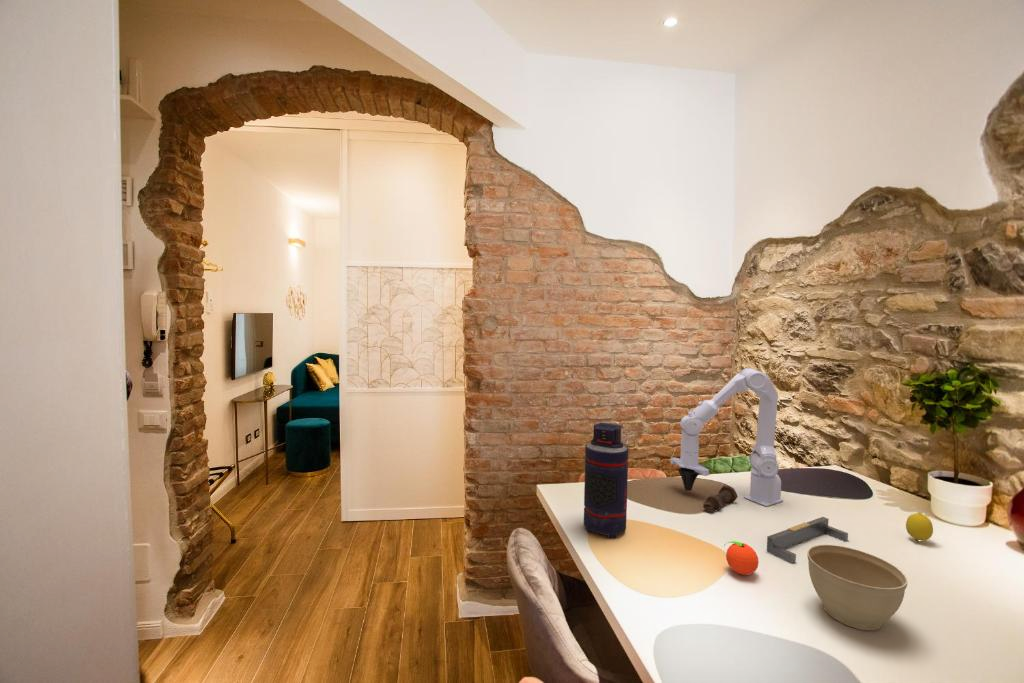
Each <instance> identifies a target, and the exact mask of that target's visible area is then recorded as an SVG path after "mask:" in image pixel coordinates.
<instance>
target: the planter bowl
mask: <svg viewBox="0 0 1024 683" xmlns="http://www.w3.org/2000/svg"><path fill="white" fill-rule="evenodd" d="M806 554H807V561H808V563H807V564H808V572H809V576H810V580H811V584H812V586H813V588H814V591H815V593H816V595H817V596H818V598H819V599H820V600H821V602H822V607H823V609H824V610H825V612H826V613H827V614H828V616H830V617H832V618H833V619H834V620H836V621H838V622H840V623H842V624H844V625H845V626H848V627H850V628H851V627H852V628H854V629H859V630H862V631H876V630H879V629H880V628H881V627H882V624H883V623H884V622H885V621H888V620H889V619H890V618H891V617H892V616H893V615H895V614H896V613H897V612H898V610H899V609H900V607H901V605H902V603H903V601H904V597H905V592H906V589H907V587H908V578H907V576H906V574H904V573H903V571H902V570H900V568H898V567H896V565H893V564H892V563H890V562H888V561H887V560H884V559H883V558H881V557H879V556H876V555H873V554H872V553H871V554H870V553H869V552H865V551H862V550H859V549H856V548H852V547H848V546H847V547H846V546H844V545H835V544H834V545H833V544H817V545H814V546H811V547H810V548H808V549H807V553H806Z"/></svg>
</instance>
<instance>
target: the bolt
mask: <svg viewBox="0 0 1024 683" xmlns="http://www.w3.org/2000/svg"><path fill="white" fill-rule="evenodd" d="M737 498H738V493H737V492H736V489H735V487H732V486H729V485H725V484H724V485H723V486H721V488H720V489H719V490H718V493H717V494H716V495H715V494H710V495H708V497H707V498H706V500H705V501H704V502H703V503H702V505H703V506H702V507H703V509H704V510H705V511H706V512H709V513H710V512H713V511H715V510H717V511H716V512H718V511H720V510H721V509H722V507H723V506H724V504H725V503H726V504H727V503H730V504H733V503H734V502H735V501H736V500H737Z"/></svg>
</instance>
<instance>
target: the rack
mask: <svg viewBox="0 0 1024 683" xmlns="http://www.w3.org/2000/svg"><path fill="white" fill-rule="evenodd" d="M823 535H828V536H830V537H832V538H834V539H837V538H838V539H837V540H840V541H842V540H843V541H842V542H847V541H848V539H849V533H848V532H846V531H843V530H841V529H838V528H835V527H833V526H830V525H829V518H828V517H825V516H821V517H818V518H815V519H813V520H810V521H807V522H803V523H800V524H797V525H794V526H791V527H788V528H787V529H785V530H782V531H779V532H777V533H773V534H771V535H770V534H769V535H768V536H766V537H767V538H766V552H767V553H769V554H771V555H773V556H775V557H777V558H779V559H781V560H783V561H786V562H787V563H790V564H795V563H796V561H797V560H796V559H797V554H796V553H794V552H792V551H789V550H788V549H790V548H793V547H794V546H797V545H799V544H802V543H804V542H807V541H809V540H812V539H815V538H817V537H820V536H823ZM846 540H847V541H846Z"/></svg>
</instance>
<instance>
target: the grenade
mask: <svg viewBox="0 0 1024 683" xmlns="http://www.w3.org/2000/svg"><path fill="white" fill-rule="evenodd" d="M622 427H623V425H622V424H616V423H609V422H602V421H601V422H599V423H596V424H594V425H593V437H592V439H591V440H590V441H589V442H587V443H586V444H585V448H584V449H585V450H584V454H585V455H584V457H585V458H584V488H583V489H584V490H583V491H584V492H583V493H584V495H583V496H584V497H583V526H584V527H585V530H586V531H587V533H590V532H593V533H596V534H600V535H606V536H607V537H608V539H616V538H617V535H620V534H622V533H624V532H625V531H626V529H627V511H628V509H627V507H628V479H629V478H628V475H629V462H628V461H629V447H628V444H629V436H628V432H627V431H626V430H625V429H622ZM623 433H625V435H626V442H625V441H624V437H623Z"/></svg>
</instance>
